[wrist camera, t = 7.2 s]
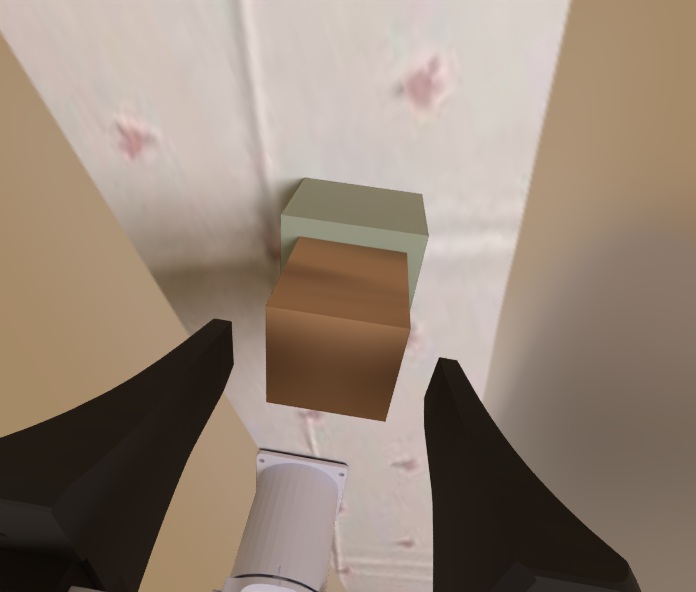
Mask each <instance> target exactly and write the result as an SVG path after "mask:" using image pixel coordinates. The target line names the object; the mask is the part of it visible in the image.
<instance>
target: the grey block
mask: <svg viewBox="0 0 696 592" xmlns="http://www.w3.org/2000/svg"><path fill="white" fill-rule="evenodd" d="M300 236H302V237H308V238H315V239H321V240H328V241H334V242H340V243H347V244H353V245H360V246H366V247H373V248H379V249H386V250H392V251H399V252H405V253H407V261H408V283H409V306H410V309H411V305H412V301H413V297H414V293H415V289H416V285H417V281H418V277H419V273H420V269H421V265H422V261H423V257H424V253H425V249H426V245H427V241H428V237H429V234H428V228H427V222H426V216H425V209H424V203H423V197H422V194H417V193H410V192H403V191H396V190H389V189H382V188H375V187H368V186H360V185H353V184H346V183H339V182H332V181H325V180H318V179H311V178H304V180H303V181H302V183H301V184H300V186H299V187H298V189H297V190H296V192H295V194H294V195H293V197H292V198H291V200H290V201H289V203H288V204H287V206H286V208H285V209H284V211H283V212H282V214H281V265H280V276H281V274H282V272H283V270H284V267H285V265H286V263H287V261H288V259H289V257H290V255H291V253H292V251H293V249H294V247H295V245H296V243H297V241H298V239H299V237H300Z"/></svg>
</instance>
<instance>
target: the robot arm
mask: <svg viewBox="0 0 696 592" xmlns="http://www.w3.org/2000/svg"><path fill="white" fill-rule="evenodd" d="M233 365H234V360H233V340H232V322H231V321H225V320H220V319H213V320H211V321H210V322H209V323H207V324H206V325H205V326H203V327H202V328H201V329H200V330H198V331H197V332H196V333H195V334H193V335H192V336H191V337H189V338H188V339H187V340H186V341H184V342H183V343H182V344H180V345H179V346H178V347H176V348H175V349H173V350H172V351H171V352H169V353H168V354H167V355H165V356H164V357H163V358H161V359H160V360H158V361H157V362H155V363H154V364H152V365H151V366H149V367H148V368H146V369H145V370H143V371H142V372H140V373H139V374H137V375H136V376H134V377H132V378H131V379H129V380H127V381H126V382H124V383H122V384H120V385H119V386H117V387H115V388H113V389H112V390H110V391H108V392H106V393H104V394H102V395H100V396H98V397H96V398H94V399H92V400H90V401H88V402H86V403H84V404H82V405H80V406H78V407H76V408H74V409H72V410H69V411H67V412H65V413H63V414H61V415H58V416H56V417H53V418H51V419H49V420H46V421H44V422H41V423H39V424H37V425H34V426H32V427H29V428H27V429H24V430H21V431H18V432H15V433H13V434H10V435H7V436H4V437H1V438H0V592H138V589H139V587H140V584H141V581H142V578H143V575H144V572H145V569H146V567H147V564H148V561H149V558H150V555H151V552H152V549H153V547H154V544H155V541H156V539H157V536H158V533H159V530H160V527H161V525H162V522H163V520H164V517H165V514H166V512H167V509H168V507H169V504H170V501H171V499H172V497H173V494H174V491H175V489H176V486H177V484H178V482H179V479H180V477H181V474H182V472H183V469H184V467H185V465H186V462H187V460H188V458H189V456H190V454H191V451H192V449H193V447H194V445H195V444H196V442H197V440H198V438H199V436H200V434H201V432H202V430H203V429H204V427H205V425H206V423H207V421H208V419H209V418H210V416H211V414H212V412H213V410H214V408H215V406H216V404H217V402H218V401H219V399H220V397H221V395H222V393H223V391H224V389H225V386H226V384H227V381H228V378H229V376H230V373H231V370H232V368H233ZM424 429H425V438H426V447H427V455H428V464H429V472H430V481H431V489H432V502H433V592H641V590H640V588H639V585H638V583H637V580H636V578H635V576H634V574H633V573H632V570H631V568H630V566H629V564H628V563H627V561H626V560H625V559H624V558H622V557H621V556H620V555H619V554H618V553H616V552H615V551H614V550H613V549H612V548H611V547H610V546H608V545H607V544H606V543H605V542H604V541H603V540H601V539H600V538H599V537H598V536H597V535H596V534H594V533H593V532H592V531H591V530H590V529H589V528H588V527H587V526H585V525H584V524H583V523H582V522H581V521H580V520H579V519H578V518H577V517H576V516H575V515H574V514H573V513H572V512H571V511H570V510H569V509H567V508H566V507H565V506H564V505H563V504H562V503H561V502H560V501H559V500H558V499H557V498H556V497H555V496H554V495H553V494H552V492H551V491H550V490H549V489H548V488H547V487H546V486H545V485H544V484H543V483H542V482H541V481H540V480H539V478H538V477H537V476H536V475H535V474H534V473H533V472H532V471H531V469H530V468H529V467H528V466H527V465H526V464H525V462H524V461H523V460H522V459H521V457H520V456H519V455H518V454H517V453H516V451H515V450H514V449H513V448H512V446H511V445H510V444H509V442H508V441H507V440H506V438H505V437H504V436H503V434H502V433H501V431H500V430H499V428H498V427H497V425H496V424H495V423H494V421H493V420H492V418H491V417H490V415H489V413H488V412H487V410H486V409H485V407H484V406H483V404H482V402H481V401H480V399H479V397H478V396H477V394H476V392H475V391H474V389H473V387H472V386H471V384H470V382H469V380H468V379H467V377H466V375H465V373H464V372H463V370H462V368H461V366H460V364H459V363H458V361H457V360H452V359H446V358H440V357H439V359H438V362H437V364H436V367H435V370H434V372H433V375H432V378H431V381H430V383H429V386H428V389H427V391H426V394H425V397H424ZM347 474H348V467H347V466H346V465H343V464H338V463H332V462H327V461H321V460H315V459H309V458H304V457H298V456H292V455H287V454H281V453H275V452H270V451H264V450H260V451H258V452H257V455H256V480H257V481H256V488H257V489H256V494H255V498H254V501H253V504H252V507H251V510H250V514H249V517H248V520H247V523H246V527H245V530H244V533H243V537H242V540H241V543H240V546H239V549H238V553H237V556H236V559H235V562H234V566H233V569H232V572H231V575H230V577H226V579H225V582H224V585H223V588H222V591H220V590H213V591H211V592H326V587H327V579H328V571H329V564H330V556H331V548H332V540H333V532H334V524H335V521H336V520H337V516H338V511H339V507H340V503H341V499H342V495H343V491H344V486H345V482H346V478H347Z"/></svg>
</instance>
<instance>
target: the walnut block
mask: <svg viewBox="0 0 696 592" xmlns="http://www.w3.org/2000/svg"><path fill="white" fill-rule="evenodd" d="M410 329H411V328H410V306H409V283H408V261H407V253H405V252H399V251H392V250H386V249H379V248H373V247H366V246H360V245H353V244H347V243H340V242H334V241H328V240H321V239H315V238H308V237H302V236H300V237H299V239H298V241H297V243H296V245H295V247H294V249H293V251H292V253H291V255H290V257H289V259H288V261H287V263H286V265H285V267H284V270H283V272H282V274H281V276H280V278H279V280H278V282H277V284H276V286H275V288H274V290H273V292H272V294H271V296H270V298H269V300H268V302H267V304H266V402H269V403H275V404H281V405H287V406H293V407H299V408H305V409H311V410H317V411H323V412H329V413H336V414H342V415H348V416H354V417H360V418H366V419H372V420H378V421H384V422H385V421H386V417H387V414H388V410H389V406H390V403H391V399H392V395H393V392H394V388H395V384H396V381H397V377H398V373H399V370H400V366H401V362H402V359H403V355H404V351H405V348H406V344H407V340H408V337H409V333H410Z"/></svg>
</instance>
